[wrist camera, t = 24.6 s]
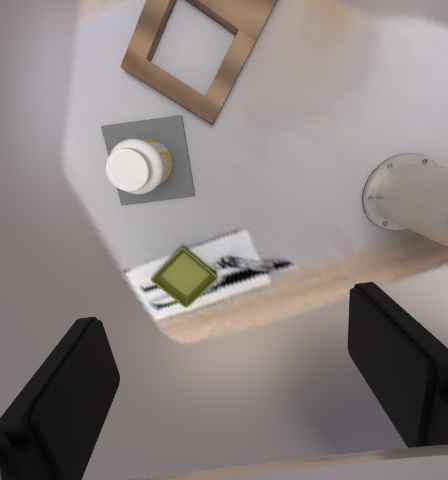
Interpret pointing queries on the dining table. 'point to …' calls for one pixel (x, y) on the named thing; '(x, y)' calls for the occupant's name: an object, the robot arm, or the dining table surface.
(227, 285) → the dining table surface
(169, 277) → the olive square tray
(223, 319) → the dining table surface
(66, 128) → the dining table surface
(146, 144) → the supplement bottle
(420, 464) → the robot arm
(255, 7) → the collar stand
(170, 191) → the coaster pad
